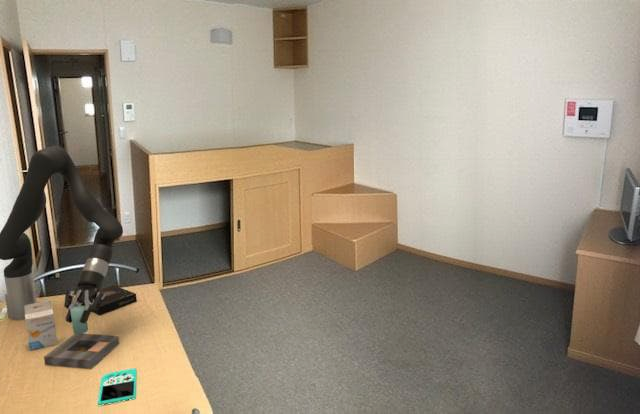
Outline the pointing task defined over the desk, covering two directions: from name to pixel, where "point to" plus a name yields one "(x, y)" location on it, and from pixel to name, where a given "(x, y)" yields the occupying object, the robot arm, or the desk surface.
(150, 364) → the desk surface
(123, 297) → the portable cd player
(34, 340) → the ink box
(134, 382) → the handheld game console
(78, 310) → the peg
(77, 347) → the holder
